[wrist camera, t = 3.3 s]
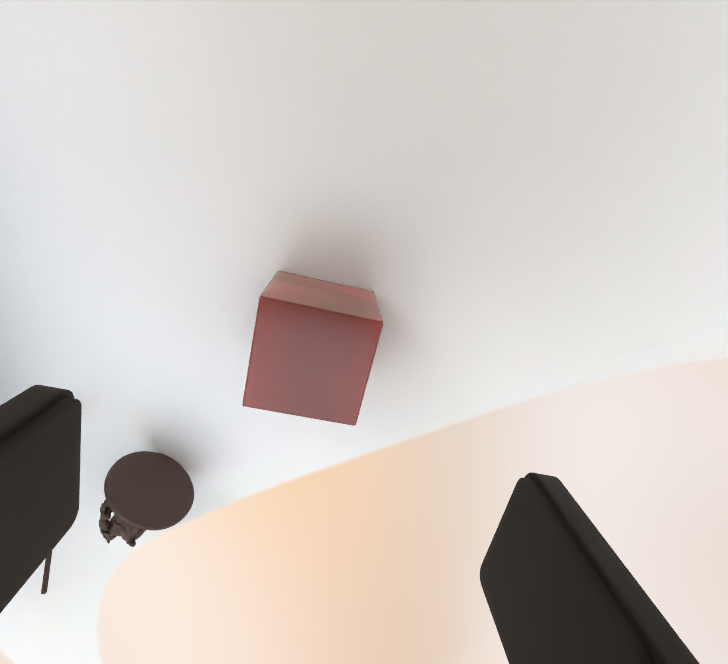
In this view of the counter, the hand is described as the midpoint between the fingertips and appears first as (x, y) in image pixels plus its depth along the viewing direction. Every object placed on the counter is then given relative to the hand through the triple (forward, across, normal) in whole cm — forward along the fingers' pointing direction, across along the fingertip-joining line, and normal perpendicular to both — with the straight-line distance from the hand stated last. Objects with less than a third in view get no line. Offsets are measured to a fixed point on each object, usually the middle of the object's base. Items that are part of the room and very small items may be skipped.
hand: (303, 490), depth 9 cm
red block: (+9, 0, -1) cm, 9 cm away
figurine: (+7, +6, +7) cm, 12 cm away
